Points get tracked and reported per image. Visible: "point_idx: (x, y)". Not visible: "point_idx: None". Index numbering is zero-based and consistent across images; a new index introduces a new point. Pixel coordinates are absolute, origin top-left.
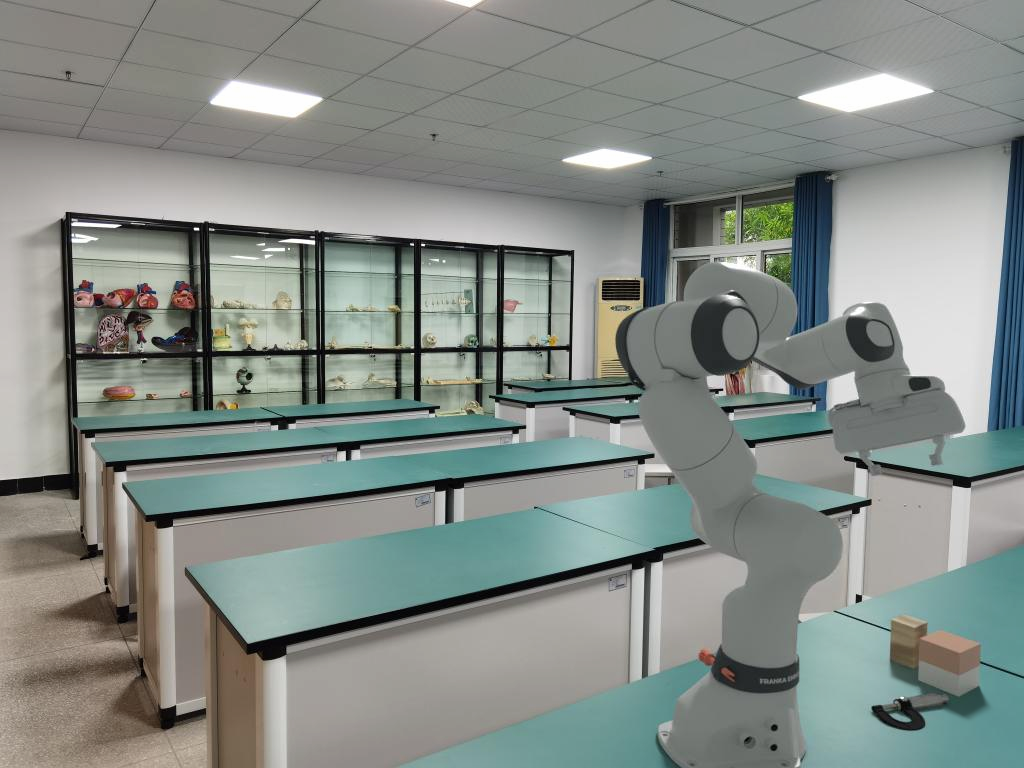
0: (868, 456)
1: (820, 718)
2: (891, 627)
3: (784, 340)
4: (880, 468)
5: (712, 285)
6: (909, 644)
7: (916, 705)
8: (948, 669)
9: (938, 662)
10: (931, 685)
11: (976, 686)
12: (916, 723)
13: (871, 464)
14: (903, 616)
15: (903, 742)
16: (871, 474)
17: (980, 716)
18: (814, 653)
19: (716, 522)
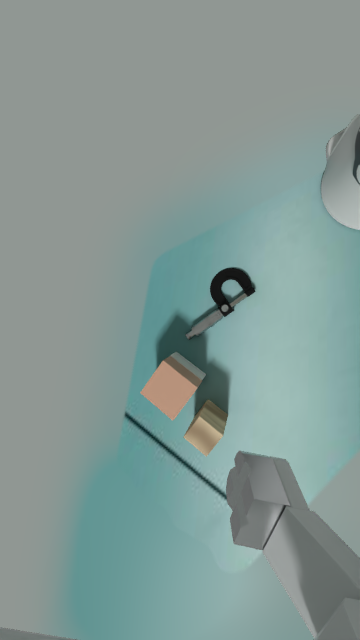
0: (324, 629)
1: (305, 255)
2: (223, 430)
3: None
4: (234, 508)
5: None
6: (207, 410)
7: (214, 310)
8: (178, 362)
9: (185, 369)
10: (195, 366)
11: None
12: (217, 282)
13: (294, 512)
14: (207, 449)
15: (232, 245)
16: (285, 459)
17: (165, 319)
18: (309, 407)
19: None
